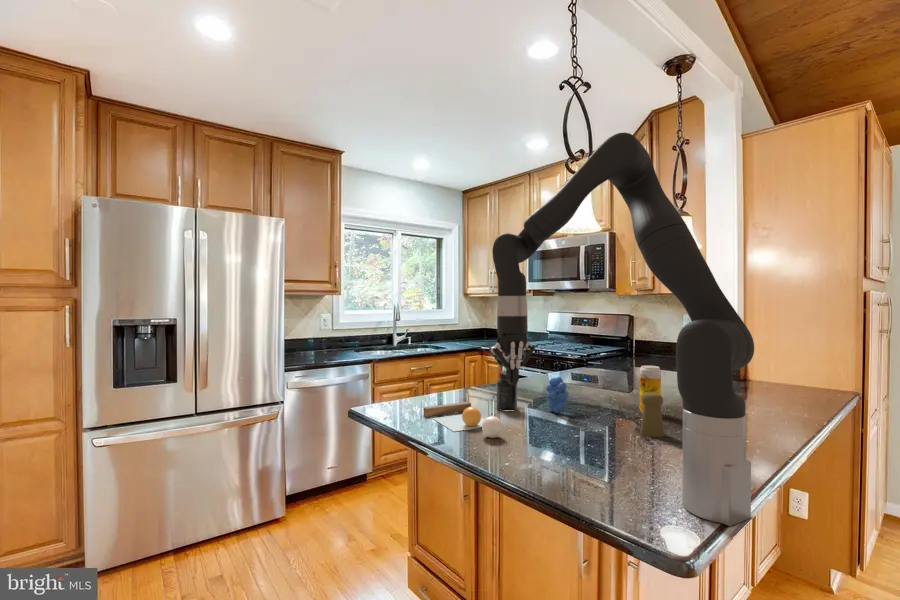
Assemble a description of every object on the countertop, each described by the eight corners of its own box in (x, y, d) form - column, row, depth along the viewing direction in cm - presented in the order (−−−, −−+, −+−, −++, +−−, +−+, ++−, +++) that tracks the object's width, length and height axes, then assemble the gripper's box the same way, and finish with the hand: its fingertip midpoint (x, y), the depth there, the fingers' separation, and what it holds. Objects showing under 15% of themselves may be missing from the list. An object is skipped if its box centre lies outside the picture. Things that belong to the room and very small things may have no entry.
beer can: (635, 412, 136) (635, 365, 136) (648, 410, 139) (648, 364, 139) (651, 417, 131) (651, 368, 131) (665, 414, 133) (665, 367, 133)
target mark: (496, 425, 122) (496, 424, 122) (453, 432, 116) (453, 431, 116) (472, 413, 134) (472, 412, 134) (432, 418, 128) (432, 418, 128)
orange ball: (482, 404, 121) (473, 407, 125) (465, 406, 118) (457, 409, 123) (486, 423, 119) (477, 426, 124) (469, 426, 117) (460, 429, 121)
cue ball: (498, 411, 114) (494, 428, 116) (480, 412, 112) (476, 430, 113) (508, 423, 109) (504, 441, 111) (490, 425, 107) (485, 443, 109)
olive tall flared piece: (667, 438, 111) (667, 396, 111) (643, 436, 112) (643, 395, 112) (660, 430, 117) (661, 391, 117) (637, 429, 118) (637, 390, 118)
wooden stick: (471, 410, 138) (471, 403, 138) (425, 416, 130) (425, 408, 130) (468, 409, 139) (468, 401, 139) (423, 415, 132) (423, 407, 132)
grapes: (578, 417, 130) (578, 378, 130) (558, 419, 128) (558, 379, 128) (559, 408, 141) (560, 372, 141) (541, 409, 140) (541, 373, 140)
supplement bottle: (506, 405, 145) (506, 370, 145) (521, 409, 140) (521, 373, 140) (492, 408, 141) (492, 372, 141) (507, 412, 135) (507, 375, 135)
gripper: (498, 315, 99) (498, 388, 99) (542, 314, 105) (543, 383, 105) (481, 314, 106) (482, 383, 105) (524, 313, 112) (524, 379, 111)
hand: (512, 383), depth 105 cm, fingers closed
